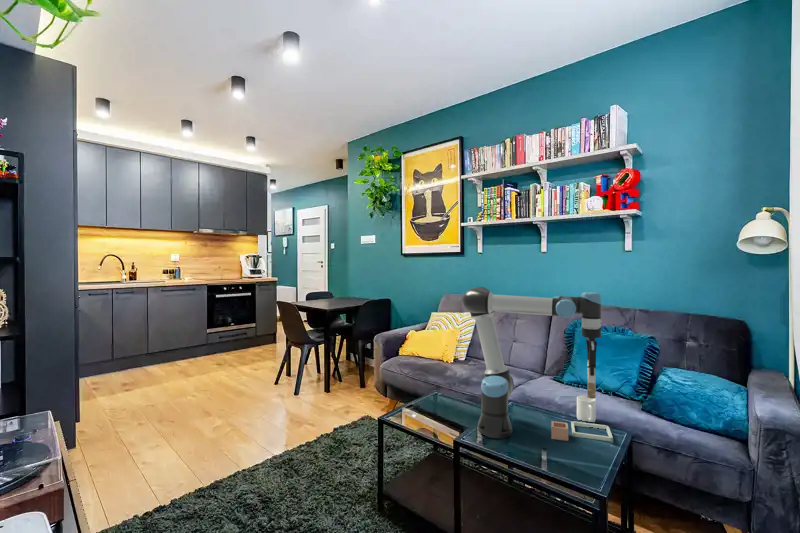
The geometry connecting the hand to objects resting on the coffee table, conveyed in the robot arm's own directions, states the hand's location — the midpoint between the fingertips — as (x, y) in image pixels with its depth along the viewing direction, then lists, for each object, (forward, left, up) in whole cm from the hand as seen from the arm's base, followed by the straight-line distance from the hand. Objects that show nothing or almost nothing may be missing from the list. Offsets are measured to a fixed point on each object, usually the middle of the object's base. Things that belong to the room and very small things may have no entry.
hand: (591, 381), depth 174 cm
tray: (0, 0, -24) cm, 24 cm away
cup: (0, +16, -24) cm, 29 cm away
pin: (0, 0, -7) cm, 7 cm away
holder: (-13, -9, -24) cm, 28 cm away
